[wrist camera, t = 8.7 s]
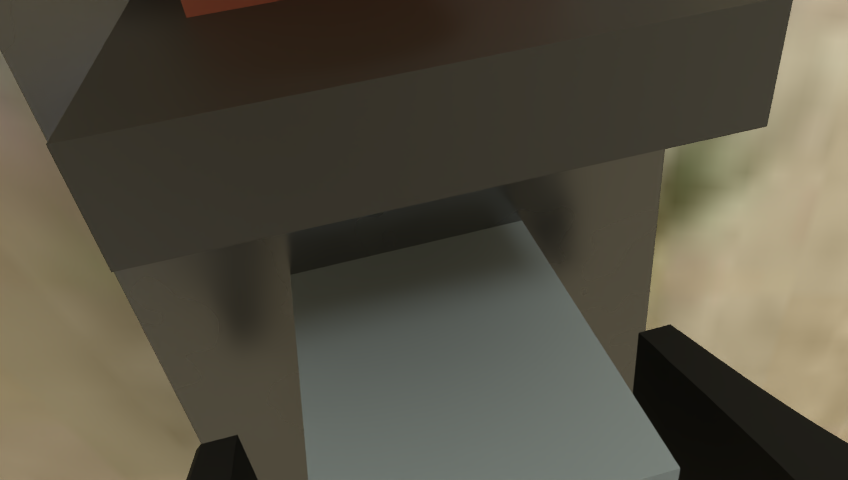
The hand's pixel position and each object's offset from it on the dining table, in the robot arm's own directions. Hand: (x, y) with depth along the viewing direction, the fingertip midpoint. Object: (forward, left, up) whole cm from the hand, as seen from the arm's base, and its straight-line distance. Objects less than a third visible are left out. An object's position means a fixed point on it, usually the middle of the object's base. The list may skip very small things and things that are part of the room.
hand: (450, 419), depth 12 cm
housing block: (0, 0, -2) cm, 2 cm away
